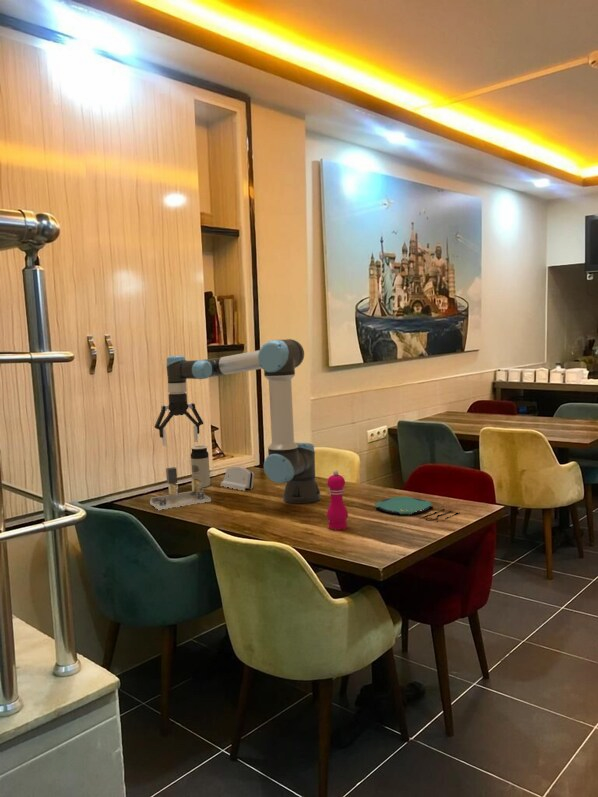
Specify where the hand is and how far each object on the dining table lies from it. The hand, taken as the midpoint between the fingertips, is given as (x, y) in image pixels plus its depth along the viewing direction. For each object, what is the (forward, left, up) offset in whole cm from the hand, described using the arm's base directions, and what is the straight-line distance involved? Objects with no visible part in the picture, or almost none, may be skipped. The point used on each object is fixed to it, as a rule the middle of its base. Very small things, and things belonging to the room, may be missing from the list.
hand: (180, 443), depth 268 cm
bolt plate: (-8, +4, -23) cm, 25 cm away
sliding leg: (-7, +6, -20) cm, 22 cm away
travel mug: (+15, -13, -23) cm, 31 cm away
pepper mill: (-74, -31, -23) cm, 83 cm away
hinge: (+3, -26, -24) cm, 36 cm away
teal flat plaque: (-73, -65, -24) cm, 100 cm away
